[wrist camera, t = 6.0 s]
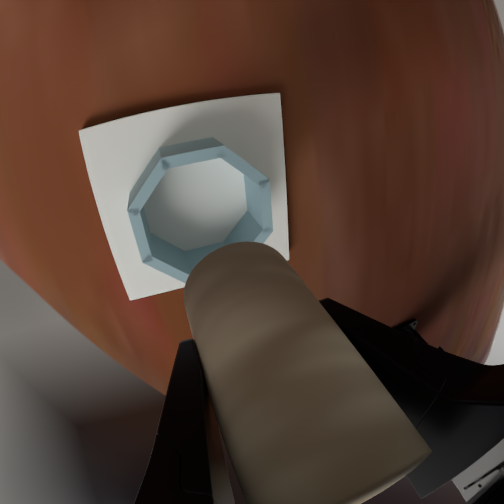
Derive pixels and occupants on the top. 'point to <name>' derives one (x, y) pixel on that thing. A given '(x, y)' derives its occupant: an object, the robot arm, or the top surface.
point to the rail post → (291, 386)
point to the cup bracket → (188, 185)
